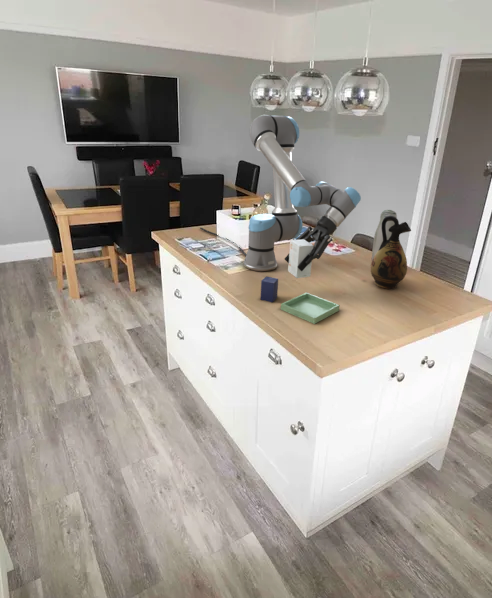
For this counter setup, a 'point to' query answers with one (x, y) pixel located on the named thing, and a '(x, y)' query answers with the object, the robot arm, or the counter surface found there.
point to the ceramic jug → (390, 256)
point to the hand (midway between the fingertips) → (292, 265)
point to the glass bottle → (378, 234)
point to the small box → (299, 257)
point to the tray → (310, 307)
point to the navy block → (269, 289)
